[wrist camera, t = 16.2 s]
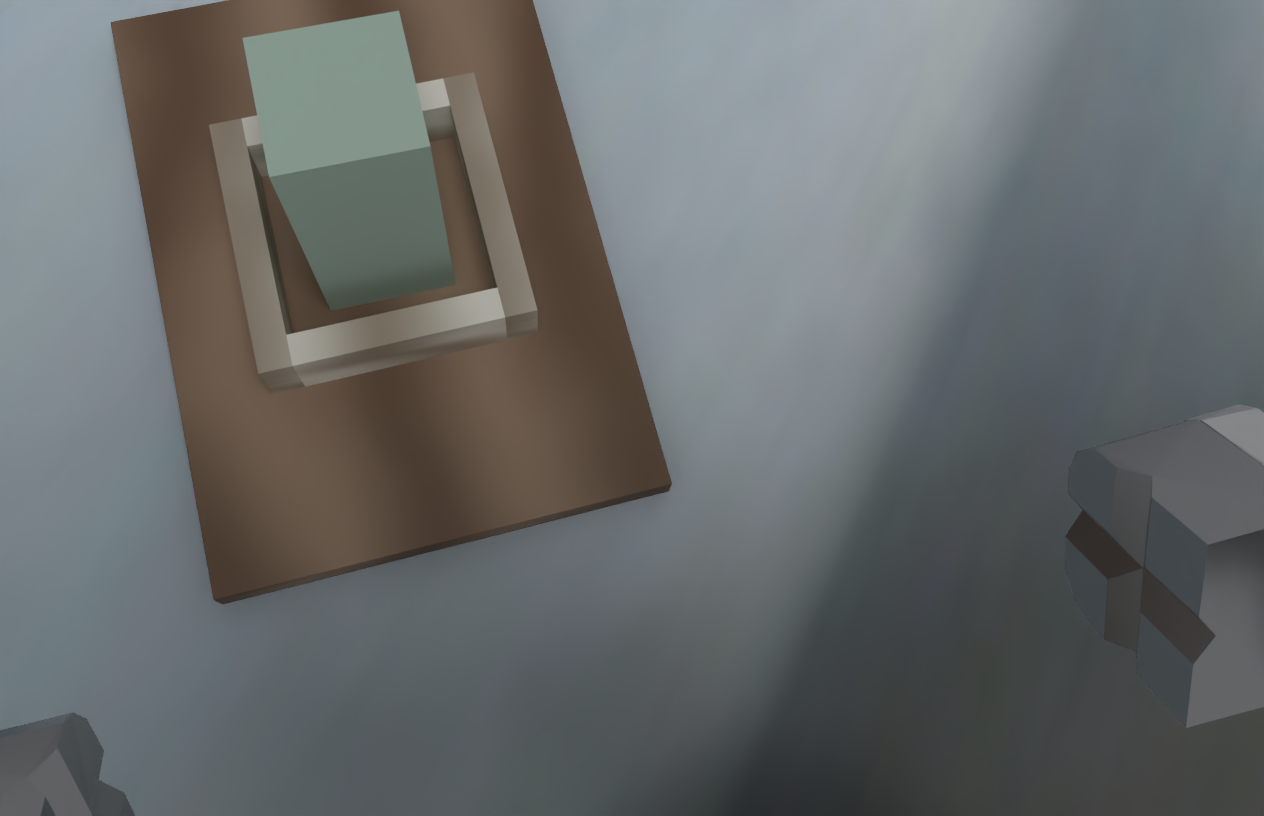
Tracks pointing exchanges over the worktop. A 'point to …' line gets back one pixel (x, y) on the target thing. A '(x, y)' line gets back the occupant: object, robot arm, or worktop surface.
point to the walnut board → (382, 308)
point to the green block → (351, 157)
